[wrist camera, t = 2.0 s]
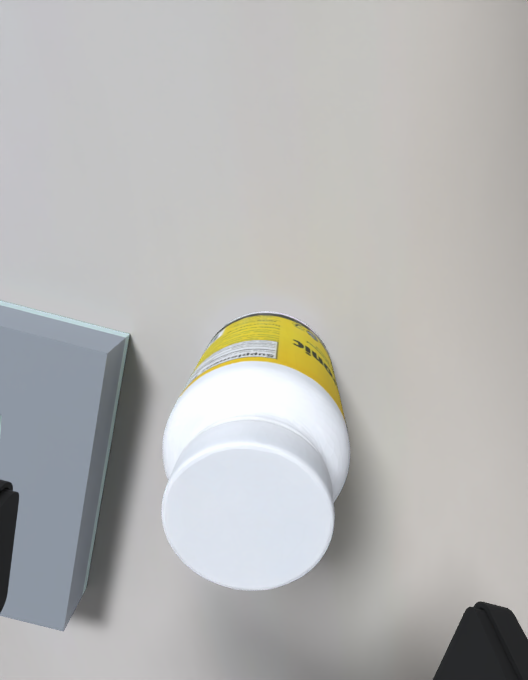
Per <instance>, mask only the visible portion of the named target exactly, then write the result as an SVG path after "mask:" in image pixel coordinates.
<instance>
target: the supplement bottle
mask: <svg viewBox="0 0 528 680" xmlns="http://www.w3.org/2000/svg"><path fill="white" fill-rule="evenodd" d="M349 462H350V443H349V437H348V430H347V425H346V421H345V417H344V413H343V409H342V404H341V400H340V396H339V392H338V388H337V383H336V380H335V375H334V371H333V367H332V363H331V360H330V357H329V354H328V351H327V349H326V347H325V345H324V343H323V342H322V340H321V339H320V337H319V336H318V335H317V334H316V333H315V331H314V330H313V329H311V328H310V327H309V326H308V325H307V324H305V323H304V322H302V321H300V320H299V319H297V318H295V317H292V316H290V315H287V314H283V313H278V312H270V311H262V312H254V313H250V314H246V315H244V316H241V317H238V318H236V319H234V320H233V321H231V322H229V323H228V324H226V325H225V326H224V327H223V328H222V329H221V330H220V331H219V332H218V333H217V334H216V335H215V336H214V338H213V339H212V340H211V342H210V343H209V345H208V346H207V348H206V350H205V352H204V354H203V355H202V357H201V359H200V361H199V363H198V365H197V366H196V368H195V370H194V372H193V373H192V375H191V377H190V379H189V380H188V382H187V384H186V386H185V388H184V390H183V392H182V393H181V395H180V397H179V399H178V401H177V402H176V404H175V406H174V408H173V410H172V412H171V414H170V417H169V419H168V422H167V425H166V428H165V432H164V437H163V463H164V468H165V471H166V475H167V478H168V480H169V481H168V484H167V486H166V489H165V492H164V495H163V500H162V512H161V515H162V523H163V528H164V531H165V534H166V537H167V540H168V542H169V544H170V545H171V547H172V549H173V550H174V552H175V553H176V555H177V556H178V557H179V558H180V560H181V561H182V562H183V563H184V564H185V565H186V566H188V567H189V568H190V569H191V570H193V571H194V572H195V573H196V574H198V575H200V576H201V577H203V578H205V579H206V580H209V581H211V582H213V583H216V584H218V585H221V586H224V587H228V588H232V589H238V590H248V591H256V590H268V589H273V588H277V587H280V586H284V585H286V584H288V583H291V582H293V581H295V580H297V579H299V578H301V577H302V576H304V575H305V574H306V573H308V572H309V571H310V570H311V569H312V568H313V567H315V566H316V564H317V563H318V562H319V561H320V560H321V558H322V557H323V555H324V554H325V552H326V550H327V549H328V547H329V544H330V542H331V539H332V535H333V531H334V523H335V513H334V502H335V500H336V499H337V497H338V495H339V494H340V492H341V490H342V488H343V486H344V483H345V481H346V478H347V474H348V470H349Z"/></svg>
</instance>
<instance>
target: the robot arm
mask: <svg viewBox="0 0 528 680" xmlns="http://www.w3.org/2000/svg"><path fill="white" fill-rule="evenodd" d="M18 505H19V493H18V492H16V491H13V485H12V483H11V482H8V481H4V480H0V613H1V611H2V609H3V607H4V604H5V602H6V599H7V594H8V586H9V578H10V569H11V561H12V553H13V545H14V537H15V529H16V521H17V513H18ZM433 680H528V639H527V637H526V635H525V634H524V632H523V630H522V628H521V626H520V624H519V623H518V621H517V619H516V617H515V615H514V614H513V613H512V611H511V610H509V609H508V608H505V607H501V606H497V605H493V604H489V603H485V602H478V603H476V604H475V606H474V607H469V608H467V609H466V611H465V613H464V615H463V617H462V619H461V621H460V623H459V625H458V627H457V630H456V632H455V634H454V636H453V638H452V640H451V642H450V644H449V647H448V649H447V651H446V653H445V655H444V657H443V659H442V661H441V664H440V666H439V668H438V670H437V672H436V674H435V676H434V678H433Z"/></svg>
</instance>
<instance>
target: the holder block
mask: <svg viewBox="0 0 528 680" xmlns="http://www.w3.org/2000/svg"><path fill="white" fill-rule="evenodd" d="M129 336H130V334H128V333H124V332H120V331H116V330H112V329H108V328H104V327H101V326H97V325H93V324H89V323H85V322H81V321H77V320H73V319H70V318H66V317H62V316H58V315H54V314H50V313H46V312H43V311H39V310H35V309H31V308H27V307H23V306H19V305H16V304H12V303H8V302H4V301H0V480H4V481H8V482H11V483H12V485H13V491H16V492H18V493H19V505H18V513H17V521H16V529H15V537H14V545H13V553H12V561H11V569H10V578H9V586H8V594H7V599H6V602H5V604H4V607H3V609H2V611H1V613H0V616H4V617H8V618H12V619H16V620H20V621H24V622H28V623H32V624H36V625H40V626H44V627H48V628H52V629H56V630H60V631H64V630H65V628H66V626H67V624H68V622H69V620H70V618H71V616H72V614H73V613H74V611H75V609H76V607H77V605H78V603H79V601H80V599H81V597H82V595H83V594H84V592H85V590H86V587H87V582H88V576H89V570H90V564H91V558H92V552H93V546H94V541H95V535H96V529H97V523H98V517H99V511H100V505H101V500H102V494H103V488H104V482H105V476H106V470H107V465H108V459H109V453H110V447H111V441H112V435H113V429H114V424H115V418H116V412H117V406H118V400H119V394H120V388H121V383H122V377H123V371H124V365H125V359H126V353H127V347H128V342H129Z"/></svg>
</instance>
